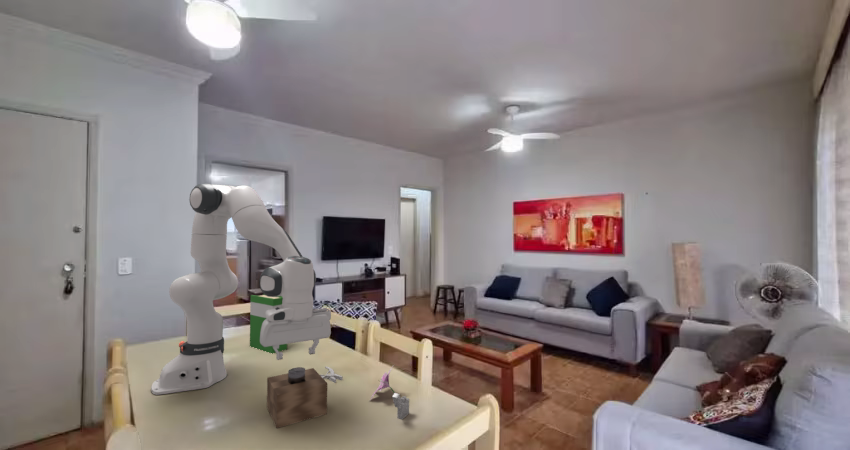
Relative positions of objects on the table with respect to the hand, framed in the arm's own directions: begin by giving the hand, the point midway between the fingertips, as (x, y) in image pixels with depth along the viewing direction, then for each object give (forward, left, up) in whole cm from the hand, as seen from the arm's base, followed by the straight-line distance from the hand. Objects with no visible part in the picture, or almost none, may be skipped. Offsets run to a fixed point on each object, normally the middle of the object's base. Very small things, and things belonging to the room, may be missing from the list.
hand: (296, 356), depth 107 cm
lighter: (+24, -21, -16) cm, 36 cm away
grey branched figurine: (+16, +20, -17) cm, 31 cm away
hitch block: (0, 0, -16) cm, 16 cm away
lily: (+27, -6, -16) cm, 32 cm away
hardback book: (+4, +67, -16) cm, 69 cm away
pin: (0, 0, -14) cm, 14 cm away
